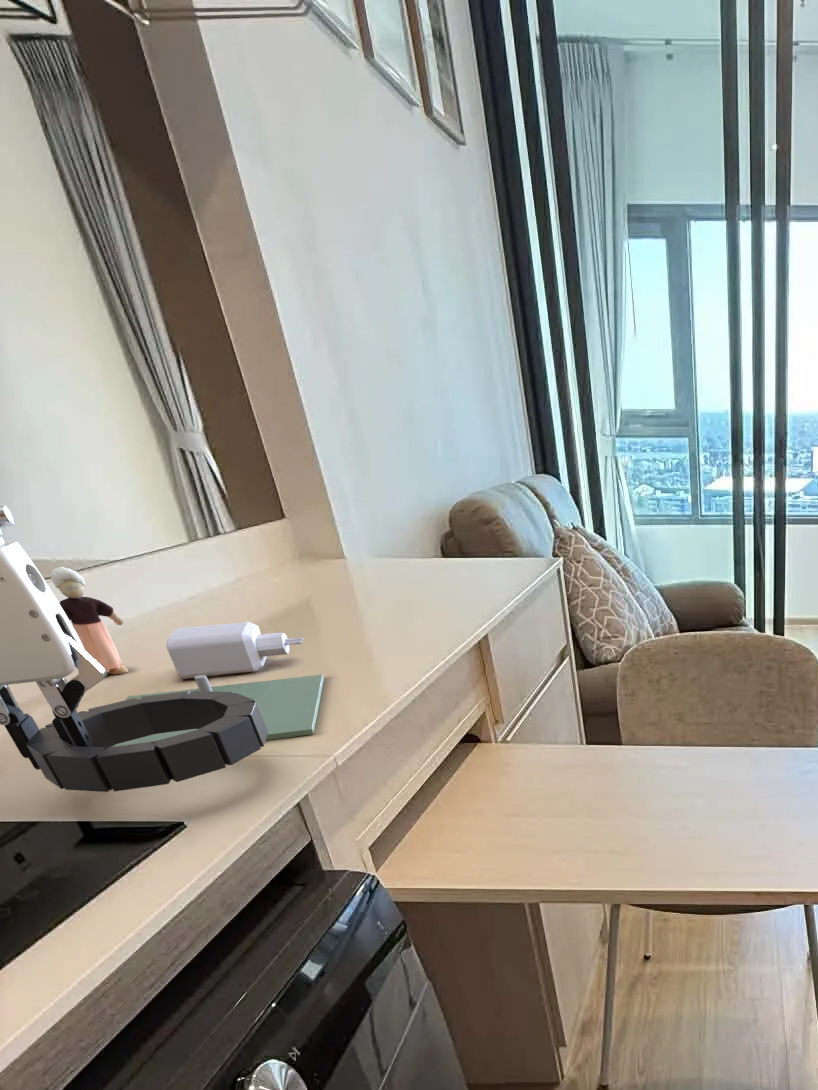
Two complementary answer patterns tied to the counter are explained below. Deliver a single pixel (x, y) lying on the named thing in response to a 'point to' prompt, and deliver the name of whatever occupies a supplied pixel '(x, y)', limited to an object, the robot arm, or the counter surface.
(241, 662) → the charger
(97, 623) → the grandmother figurine
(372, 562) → the counter surface
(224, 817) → the counter surface
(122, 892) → the counter surface
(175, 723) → the segmented bracelet
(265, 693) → the peg board
